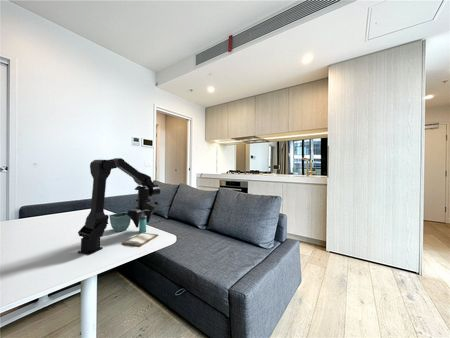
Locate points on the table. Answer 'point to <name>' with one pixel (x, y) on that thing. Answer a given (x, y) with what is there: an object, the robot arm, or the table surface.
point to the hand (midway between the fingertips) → (142, 225)
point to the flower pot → (120, 221)
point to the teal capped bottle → (142, 224)
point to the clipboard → (140, 239)
